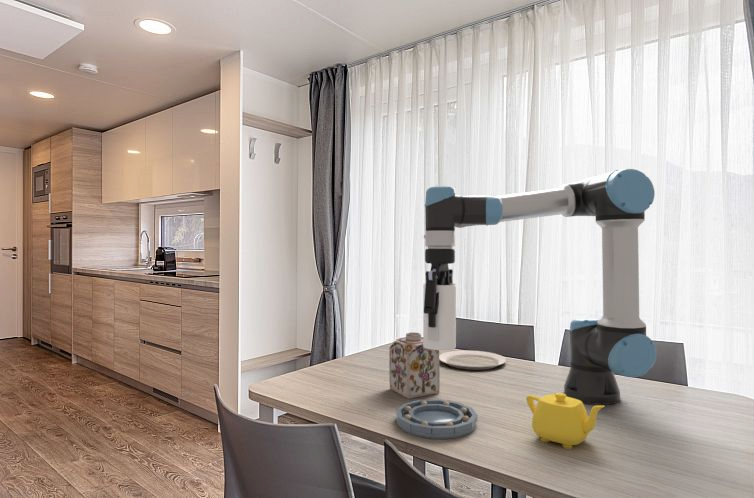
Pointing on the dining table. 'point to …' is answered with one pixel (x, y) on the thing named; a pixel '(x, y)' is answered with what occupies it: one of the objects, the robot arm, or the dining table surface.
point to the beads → (464, 410)
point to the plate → (488, 355)
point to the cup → (442, 319)
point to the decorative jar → (413, 367)
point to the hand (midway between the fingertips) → (439, 336)
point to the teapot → (561, 419)
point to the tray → (436, 419)
